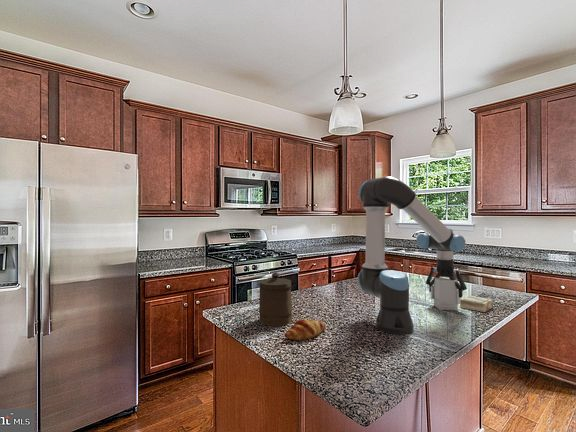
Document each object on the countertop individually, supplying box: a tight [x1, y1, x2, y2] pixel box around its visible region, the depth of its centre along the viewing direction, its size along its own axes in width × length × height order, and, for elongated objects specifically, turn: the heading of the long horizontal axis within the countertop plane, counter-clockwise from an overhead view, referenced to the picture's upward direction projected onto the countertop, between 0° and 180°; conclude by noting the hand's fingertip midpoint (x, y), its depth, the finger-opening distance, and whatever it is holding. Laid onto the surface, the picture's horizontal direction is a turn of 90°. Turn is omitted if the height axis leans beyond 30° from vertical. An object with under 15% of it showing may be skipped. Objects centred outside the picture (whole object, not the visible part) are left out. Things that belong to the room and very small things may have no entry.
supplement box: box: [433, 276, 459, 311], centre depth 159 cm, size 9×9×15 cm
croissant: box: [284, 318, 327, 341], centre depth 126 cm, size 21×10×8 cm, turn 127°
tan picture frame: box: [459, 295, 493, 313], centre depth 159 cm, size 11×11×4 cm
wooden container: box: [258, 272, 293, 327], centre depth 143 cm, size 15×15×22 cm
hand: (445, 301), depth 159 cm, fingers closed on supplement box, 12 cm apart
